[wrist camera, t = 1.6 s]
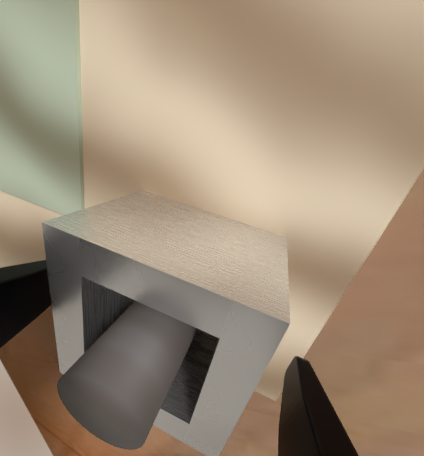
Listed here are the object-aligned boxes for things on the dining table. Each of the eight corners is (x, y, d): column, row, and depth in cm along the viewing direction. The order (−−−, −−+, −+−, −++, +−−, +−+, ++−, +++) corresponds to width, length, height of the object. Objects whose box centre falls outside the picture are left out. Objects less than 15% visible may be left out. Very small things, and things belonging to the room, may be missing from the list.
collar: (240, 345, 11) (216, 461, 7) (133, 297, 12) (59, 372, 8) (286, 237, 8) (290, 323, 4) (144, 190, 9) (41, 222, 5)
